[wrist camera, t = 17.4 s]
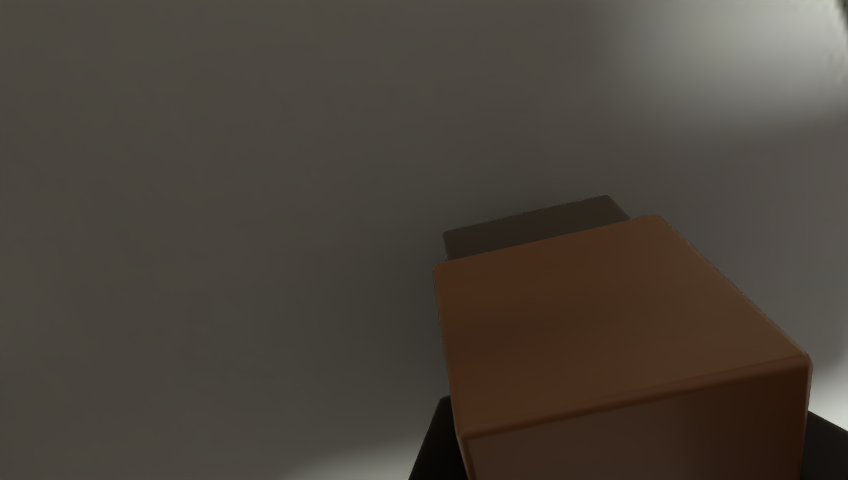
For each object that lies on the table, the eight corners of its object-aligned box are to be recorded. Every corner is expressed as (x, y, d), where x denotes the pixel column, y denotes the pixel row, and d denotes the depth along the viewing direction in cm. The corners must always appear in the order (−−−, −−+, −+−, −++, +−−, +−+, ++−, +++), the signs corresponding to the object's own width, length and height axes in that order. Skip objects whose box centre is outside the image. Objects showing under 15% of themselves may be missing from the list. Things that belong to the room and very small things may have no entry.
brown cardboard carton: (638, 433, 10) (778, 695, 6) (485, 465, 10) (538, 740, 7) (620, 175, 8) (820, 357, 4) (424, 221, 8) (455, 435, 4)
